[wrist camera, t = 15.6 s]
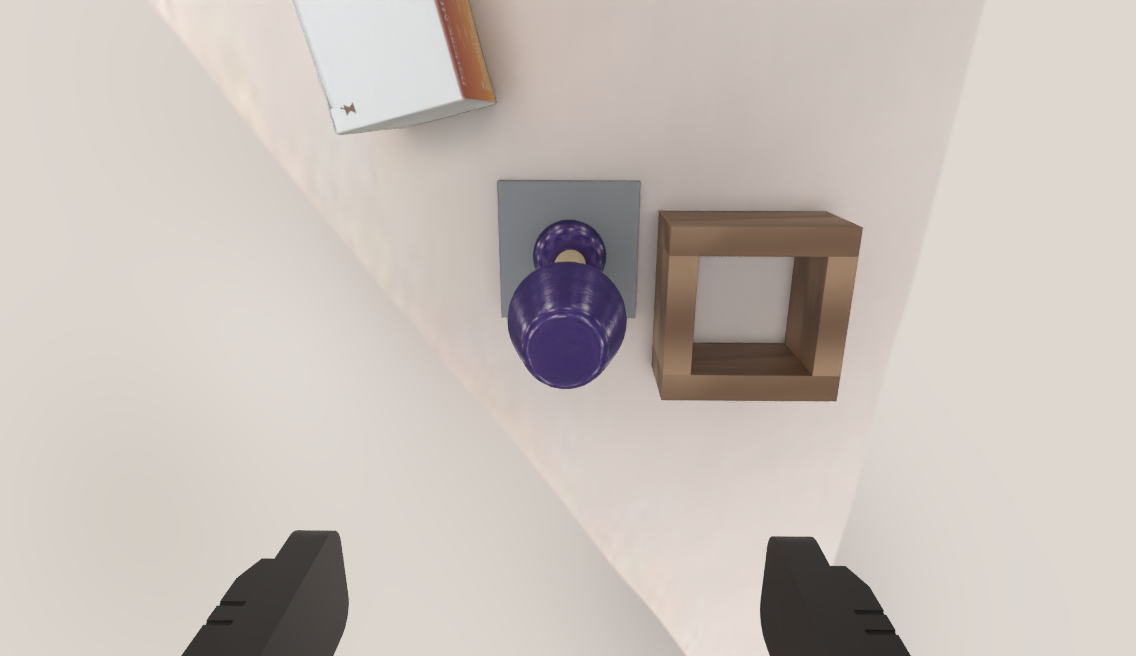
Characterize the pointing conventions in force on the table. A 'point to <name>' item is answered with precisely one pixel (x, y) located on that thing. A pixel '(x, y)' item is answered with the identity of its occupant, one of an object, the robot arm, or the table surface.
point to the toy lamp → (567, 308)
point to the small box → (395, 61)
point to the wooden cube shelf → (812, 317)
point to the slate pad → (555, 200)
